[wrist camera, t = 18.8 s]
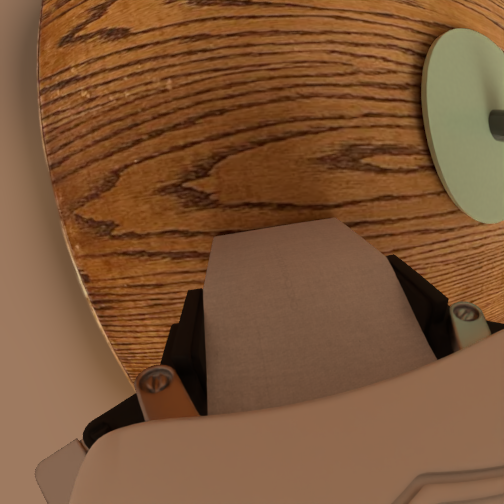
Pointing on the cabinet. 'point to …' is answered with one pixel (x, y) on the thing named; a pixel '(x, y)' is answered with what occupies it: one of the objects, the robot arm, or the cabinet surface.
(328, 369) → the tea bag
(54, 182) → the cabinet surface
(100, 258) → the cabinet surface
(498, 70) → the lid
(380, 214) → the cabinet surface
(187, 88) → the cabinet surface
